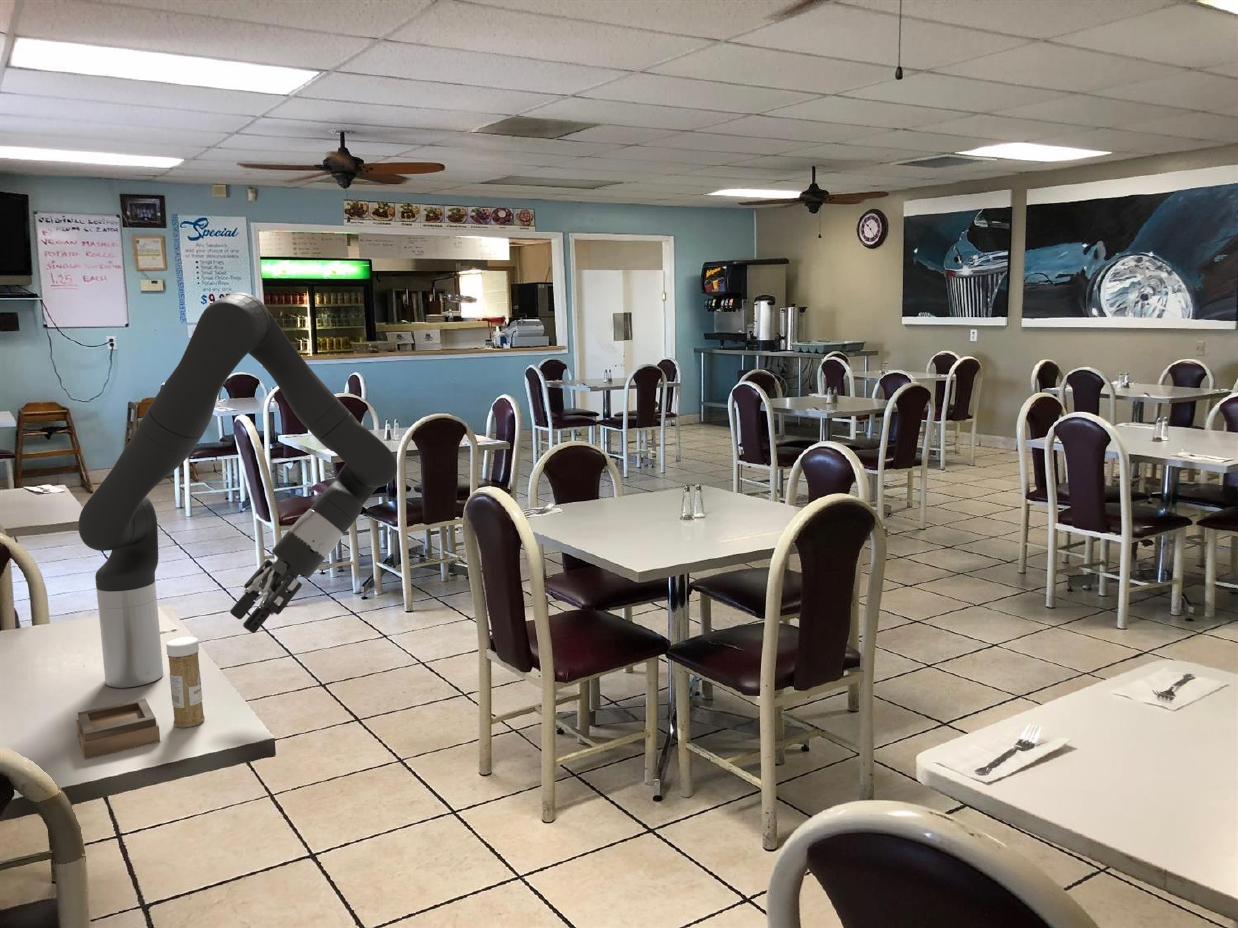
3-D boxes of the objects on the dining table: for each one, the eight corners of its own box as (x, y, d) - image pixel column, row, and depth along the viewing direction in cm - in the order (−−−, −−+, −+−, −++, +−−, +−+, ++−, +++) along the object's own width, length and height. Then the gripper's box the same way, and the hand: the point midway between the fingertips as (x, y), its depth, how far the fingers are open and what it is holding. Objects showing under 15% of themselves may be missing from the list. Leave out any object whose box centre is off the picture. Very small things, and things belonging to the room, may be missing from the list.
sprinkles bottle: (207, 724, 153) (200, 641, 151) (175, 731, 150) (168, 647, 148) (201, 714, 157) (195, 633, 155) (170, 721, 154) (163, 639, 152)
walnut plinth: (77, 735, 149) (75, 712, 149) (148, 719, 155) (146, 697, 154) (85, 759, 141) (82, 735, 141) (160, 741, 147) (158, 718, 146)
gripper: (278, 522, 165) (212, 599, 160) (304, 537, 153) (233, 621, 149) (312, 548, 169) (247, 624, 164) (339, 565, 157) (271, 647, 152)
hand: (241, 623), depth 156 cm, fingers open, 8 cm apart
